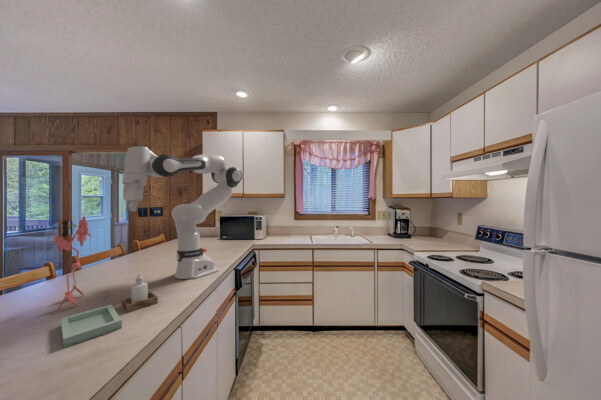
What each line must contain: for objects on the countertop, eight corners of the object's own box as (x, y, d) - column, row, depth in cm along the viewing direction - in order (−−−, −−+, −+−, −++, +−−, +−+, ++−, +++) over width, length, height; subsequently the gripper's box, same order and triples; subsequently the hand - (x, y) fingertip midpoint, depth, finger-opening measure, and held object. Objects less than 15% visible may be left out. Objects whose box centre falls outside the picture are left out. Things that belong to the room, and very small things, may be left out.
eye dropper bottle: (130, 305, 90) (129, 274, 90) (146, 300, 94) (146, 271, 94) (132, 308, 87) (131, 277, 87) (149, 303, 91) (149, 273, 91)
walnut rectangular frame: (151, 297, 97) (151, 291, 97) (157, 303, 91) (157, 296, 91) (121, 305, 89) (121, 299, 89) (126, 312, 84) (126, 305, 84)
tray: (60, 325, 75) (60, 318, 75) (111, 311, 85) (111, 304, 85) (63, 347, 64) (63, 338, 64) (121, 327, 74) (121, 320, 74)
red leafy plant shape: (45, 319, 79) (47, 218, 80) (69, 294, 101) (70, 215, 102) (103, 308, 88) (104, 217, 88) (113, 287, 109) (114, 214, 110)
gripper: (149, 180, 99) (145, 212, 98) (137, 182, 113) (134, 210, 112) (131, 178, 95) (127, 211, 94) (121, 180, 109) (118, 209, 108)
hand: (130, 210), depth 103 cm, fingers open, 8 cm apart
